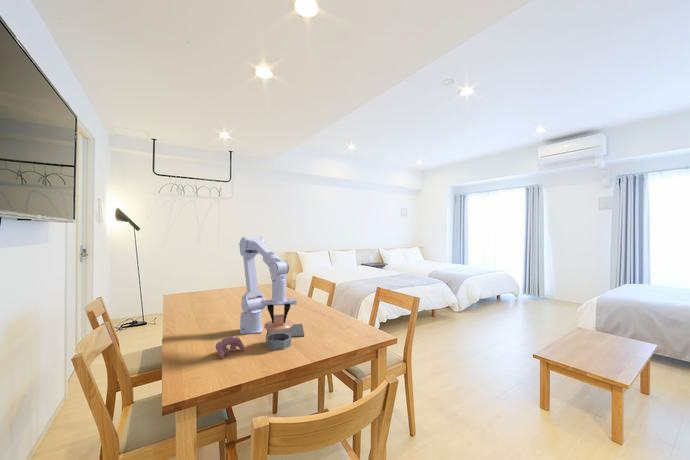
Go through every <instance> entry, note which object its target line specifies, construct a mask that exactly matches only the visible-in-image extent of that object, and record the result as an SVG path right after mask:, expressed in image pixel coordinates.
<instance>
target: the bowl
mask: <svg viewBox="0 0 690 460" xmlns="http://www.w3.org/2000/svg"><path fill="white" fill-rule="evenodd" d="M291 346H292V337H291V335H290V334H287V333H273V334H271V335H268V334H267V335H266V338H265V348H267V349H269V350H273V351H276V350H285V349H287V348H289V347H291Z"/></svg>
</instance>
